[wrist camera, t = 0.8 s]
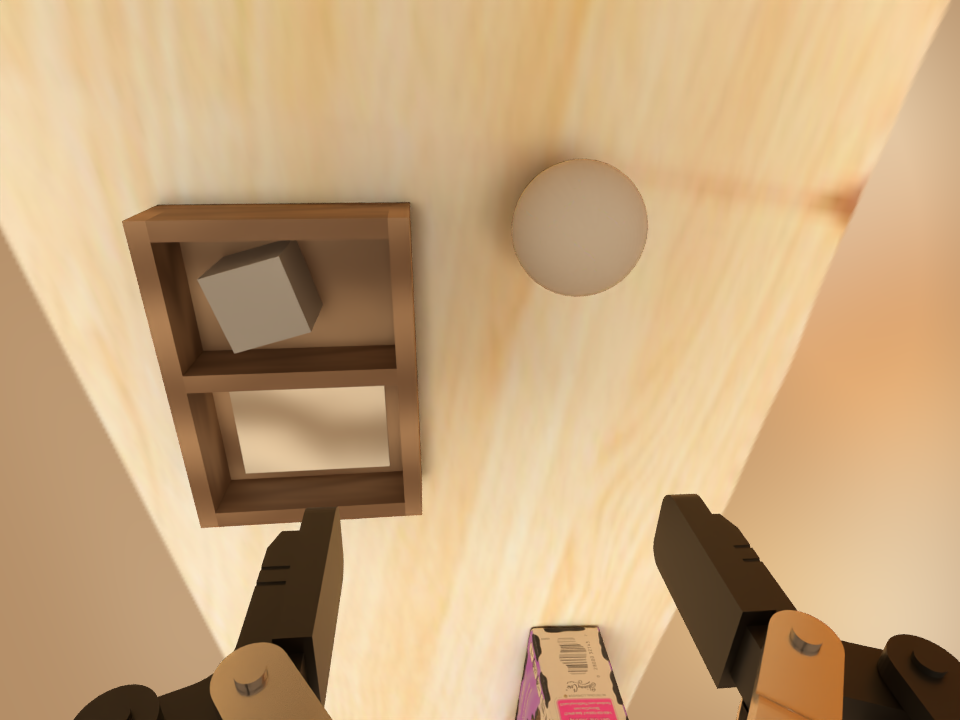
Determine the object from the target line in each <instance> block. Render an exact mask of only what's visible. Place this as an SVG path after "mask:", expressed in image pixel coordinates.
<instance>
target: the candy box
mask: <svg viewBox="0 0 960 720" xmlns="http://www.w3.org/2000/svg"><path fill="white" fill-rule="evenodd" d="M515 720H629V719H628V717H627V713H626V710H625V707H624V705H623V701H622V698H621V696H620V693H619V689H618V686H617V683H616V680H615V677H614V674H613V670H612V667H611V664H610V661H609V658H608V655H607V652H606V649H605V646H604V643H603V640H602V637H601V634H600V630H599V628H598V627H596V628H587V627H578V628H533V629H532V630H531V632H530V637H529V642H528V648H527V655H526V660H525V665H524V673H523V678H522V683H521V690H520V696H519V701H518V707H517V713H516V719H515Z"/></svg>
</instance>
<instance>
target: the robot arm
mask: <svg viewBox="0 0 960 720" xmlns="http://www.w3.org/2000/svg"><path fill="white" fill-rule="evenodd" d="M653 549H654V557H655V562H656V565H657V567H658V569H659V572H660V574H661V576H662V578H663V580H664V582H665V584H666V586H667V588H668V590H669V592H670V594H671V596H672V598H673V600H674V602H675V604H676V606H677V608H678V610H679V612H680V614H681V616H682V618H683V620H684V622H685V624H686V626H687V628H688V630H689V632H690V634H691V636H692V638H693V640H694V642H695V644H696V646H697V648H698V650H699V652H700V654H701V656H702V658H703V660H704V663H705V664H706V666H707V669H708V670H709V672H710V675H711V676H712V679H713V680H714V683H715V685H716V687H717V689H718V688H731V687H737V689H738V691H739V693H740V694H741V696H742V699H741V701H740V704H739V707H738V712H737V717H736V720H960V662H959V661H958V660H957V659H956V658H955V657H954V656H952V655H951V654H950V653H949V652H947V651H946V650H945V649H943V648H941V647H940V646H938V645H936V644H935V643H932V642H931V641H928V640H925V639H924V638H920V637H917V636H913V635H905V634H902V635H896V636H893V637H891V638H890V639H889V641H888V642H887V644H886V646H885V648H884V650H881V649H877V648H872V647H867V646H862V645H858V644H854V643H849V642H845V641H841V640H840V639H839V638H838V636H837V635H836V634H835V633H834V631H833V630H832V629H831V628H829V627H828V626H827V625H826V624H825V623H823V622H822V621H820V620H819V619H817V618H815V617H813V616H811V615H809V614H806V613H803V612H799V611H797V610H796V608H795V607H794V606H793V604H792V603H791V601H790V600H789V598H788V597H787V596H786V594H785V593H784V591H783V590H782V589H781V587H780V586H779V585H778V583H777V582H776V580H775V579H774V578H773V576H772V575H771V574H770V572H769V571H768V569H767V568H766V566H765V565H764V564H763V562H760V560H759V557H758V555H757V554H756V552H755V551H754V550H753V548H750V544H749V543H748V541H747V540H746V539H745V537H744V536H743V534H742V533H741V532H740V530H739V529H738V528H737V527H736V526H735V525H733V524H732V523H731V522H729V521H728V520H727V519H725V518H724V517H723V516H722V515H721V514H711V512H710V511H709V509H708V508H707V506H706V505H705V503H704V502H703V500H702V499H701V498H700V496H698V495H697V494H679V495H666V496H665V497H664V499H663V502H662V506H661V510H660V515H659V519H658V524H657V529H656V533H655V538H654V545H653ZM343 563H344V562H343V546H342V535H341V524H340V514H339V508H338V507H312V508H306V509H305V512H304V515H303V519H302V523H301V527H300V531H282V532H281V533H280V534H279V535H278V536H277V537H276V539H275V540H274V541H273V542H272V543H271V544H270V546H269V547H268V548H267V551H266V554H265V557H264V560H263V563H262V567H261V571H260V573H259V576H258V579H257V585H256V586H255V589H254V592H253V595H252V598H251V601H250V605H249V608H248V611H247V614H246V617H245V620H244V623H243V627H242V630H241V633H240V636H239V639H238V642H237V645H236V648H235V650H234V652H232V653H231V654H229V655H228V656H227V657H226V658H225V659H224V660H223V661H222V662H221V663H220V664H219V666H218V667H217V669H216V670H215V672H214V673H213V674H212V675H210V676H209V677H208V678H206V679H204V680H202V681H200V682H198V683H196V684H193V685H191V686H188V687H185V688H182V689H180V690H176V691H174V692H171V693H168V694H165V695H162V696H159V697H157V695H156V694H155V692H154V691H153V690H151V689H150V688H148V687H146V686H143V685H136V684H135V685H125V686H120V687H118V688H114V689H112V690H109V691H107V692H105V693H104V694H102V695H100V696H98V697H97V698H95V699H94V700H93V701H91V702H90V703H89V704H88V705H86V706H85V707H84V708H83V709H82V710H81V711H80V713H78V715H77V716H76V717H75V719H74V720H332V719H331V717H330V716H329V714H328V713H327V711H326V710H325V708H324V705H325V698H326V692H327V685H328V678H329V671H330V664H331V657H332V650H333V644H334V637H335V630H336V623H337V616H338V609H339V602H340V596H341V589H342V582H343Z"/></svg>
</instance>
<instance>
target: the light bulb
mask: <svg viewBox="0 0 960 720" xmlns="http://www.w3.org/2000/svg"><path fill="white" fill-rule="evenodd" d="M647 231H648V220H647V212H646V208H645V204H644V202H643V199H642V197H641V194H640V193H639V191H638V190H637V188H636V186H635V185H634V184H633V182H632V181H631V180H630V179H629V178H628V177H627V176H626V175H625V174H623V173H622V172H621V171H620V170H618V169H616V168H615V167H613V166H611V165H609V164H606V163H603V162H600V161H597V160H590V159H573V160H568V161H563V162H561V163H558V164H555V165H553V166H551V167H549V168H547V169H546V170H544V171H543V172H541V173H540V174H539V175H537V176H536V177H535V178H534V179H533V180H532V181H531V182H530V183H529V184H528V185H527V187H526V188H525V190H524V191H523V193H522V194H521V196H520V198H519V200H518V202H517V205H516V208H515V211H514V214H513V220H512V240H513V246H514V249H515V252H516V255H517V258H518V260H519V262H520V264H521V265H522V267H523V268H524V270H525V271H526V272H527V274H528V275H529V276H530V277H531V278H532V279H533V280H534V281H535V282H537V283H538V284H539V285H541V286H542V287H544V288H546V289H548V290H550V291H552V292H554V293H558V294H562V295H566V296H575V297H576V296H588V295H593V294H597V293H600V292H603V291H605V290H607V289H609V288H611V287H613V286H615V285H616V284H617V283H619V282H620V281H622V280H623V279H624V278H625V277H626V276H627V275H628V274H629V273H630V272H631V270H632V269H633V268H634V267H635V265H636V263H637V262H638V260H639V258H640V256H641V254H642V252H643V249H644V246H645V243H646V239H647Z"/></svg>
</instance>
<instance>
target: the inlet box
mask: <svg viewBox="0 0 960 720" xmlns="http://www.w3.org/2000/svg"><path fill="white" fill-rule="evenodd" d="M122 223H123V227H124V231H125V235H126V238H127V242H128V246H129V250H130V254H131V258H132V262H133V266H134V269H135V273H136V277H137V281H138V285H139V289H140V293H141V297H142V300H143V304H144V308H145V312H146V316H147V320H148V324H149V328H150V332H151V335H152V339H153V343H154V347H155V351H156V355H157V359H158V363H159V366H160V370H161V374H162V378H163V382H164V386H165V390H166V394H167V397H168V401H169V405H170V409H171V413H172V417H173V421H174V425H175V429H176V432H177V436H178V440H179V444H180V448H181V452H182V456H183V460H184V463H185V467H186V471H187V475H188V479H189V483H190V487H191V491H192V494H193V498H194V502H195V506H196V510H197V514H198V518H199V522H200V526H201V528H208V527H224V526H241V525H258V524H275V523H292V522H302V519H303V515H304V512H305V509H306V508H312V507H338V508H339V514H340V520H342V519H359V518H376V517H392V516H409V515H422V471H421V449H420V426H419V403H418V380H417V358H416V335H415V312H414V289H413V267H412V244H411V221H410V202H401V203H301V204H201V205H156V206H154V207H152V208H150V209H148V210H145V211H143V212H141V213H139V214H137V215H135V216H132V217H130V218H128V219H126V220H124V221H122ZM281 240H297V242H298V245H299V247H300V250H301V252H302V254H303V257H304V259H305V262H306V264H307V267H308V269H309V272H310V274H311V276H312V279H313V281H314V284H315V286H316V289H317V291H318V294H319V296H320V299H321V301H322V303H323V306H322V308H321V311H320V313H319V315H318V317H317V320H316V322H315V324H314V327H313V329H312V331H311V332H310V333H306V334H303V335H299V336H296V337H292V338H289V339H285V340H281V341H278V342H274V343H271V344H267V345H264V346H260V347H257V348H253V349H249V350H246V351H242V352H239V353H235V354H234V352H233V350H232V348H231V346H230V344H229V342H228V340H227V338H226V336H225V334H224V332H223V330H222V328H221V326H220V324H219V322H218V320H217V318H216V316H215V314H214V312H213V310H212V308H211V306H210V304H209V302H208V300H207V298H206V296H205V294H204V292H203V290H202V288H201V286H200V284H199V282H198V280H197V279H198V278H199V277H201V276H202V275H203V274H204V273H205V272H206V271H207V270H209V269H210V268H211V267H212V266H213V265H214V264H215V263H216V262H218V261H219V260H220V259H221V258H222V257H224V256H227V255H231V254H234V253H238V252H241V251H245V250H249V249H252V248H256V247H259V246H263V245H266V244H270V243H273V242H277V241H281Z"/></svg>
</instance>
